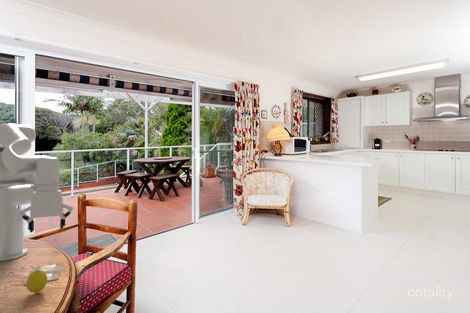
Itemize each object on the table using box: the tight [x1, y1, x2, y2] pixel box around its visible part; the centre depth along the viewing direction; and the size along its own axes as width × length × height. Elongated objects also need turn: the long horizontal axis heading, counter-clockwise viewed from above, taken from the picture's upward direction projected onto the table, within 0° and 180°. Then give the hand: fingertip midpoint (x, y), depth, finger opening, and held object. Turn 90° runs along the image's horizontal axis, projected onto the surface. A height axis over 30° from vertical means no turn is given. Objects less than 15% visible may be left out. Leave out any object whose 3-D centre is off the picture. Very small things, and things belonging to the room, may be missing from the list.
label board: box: [23, 262, 64, 287], centre depth 95 cm, size 14×10×1 cm
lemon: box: [25, 270, 48, 294], centre depth 83 cm, size 6×6×8 cm
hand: (47, 229), depth 98 cm, fingers open, 9 cm apart
